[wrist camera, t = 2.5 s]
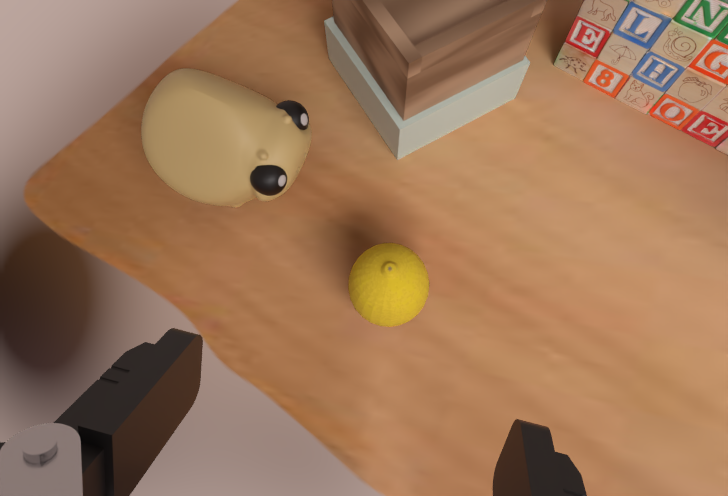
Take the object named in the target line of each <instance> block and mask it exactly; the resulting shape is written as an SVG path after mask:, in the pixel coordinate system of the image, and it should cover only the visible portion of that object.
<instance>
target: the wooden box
mask: <svg viewBox="0 0 728 496" xmlns="http://www.w3.org/2000/svg"><path fill="white" fill-rule="evenodd" d="M546 2H547V0H332V7H333V17H334V22H335V24H336V25H337V27H338V28H339V29H340V31H341V32H342V34H343V35H344V37H345V38H346V39H347V41H348V42H349V44H350V45H351V47H352V48H353V50H354V51H355V52H356V54H357V55H358V57H359V58H360V60H361V61H362V62H363V64H364V65H365V67H366V68H367V70H368V71H369V72H370V74H371V75H372V77H373V78H374V80H375V81H376V82H377V84H378V85H379V87H380V88H381V90H382V91H383V92H384V94H385V95H386V97H387V98H388V100H389V101H390V102H391V104H392V105H393V107H394V108H395V110H396V111H397V112H398V114H399V115H400V117H401V118H402V120H403V121H405V120H407V119H409V118H411V117H413V116H415V115H416V114H418V113H420V112H422V111H424V110H426V109H428V108H430V107H432V106H434V105H436V104H438V103H440V102H442V101H444V100H446V99H448V98H450V97H452V96H454V95H456V94H458V93H460V92H462V91H464V90H466V89H467V88H469V87H471V86H473V85H475V84H477V83H479V82H481V81H483V80H485V79H487V78H489V77H491V76H493V75H495V74H497V73H499V72H501V71H503V70H505V69H507V68H509V67H511V66H513V65H515V64H517V63H519V62H520V61H522V60H523V59H524V56H525V54H526V51H527V49H528V47H529V44H530V42H531V39H532V37H533V34H534V32H535V29H536V27H537V24H538V22H539V19H540V17H541V14H542V12H543V9H544V7H545V4H546Z"/></svg>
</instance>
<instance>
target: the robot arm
mask: <svg viewBox="0 0 728 496" xmlns="http://www.w3.org/2000/svg"><path fill="white" fill-rule="evenodd" d="M202 345H203V340H202V337H201V335H198V334H194V333H190V332H186V331H182V330H178V329H175V328H172V329H170V330H168V331H167V332H166V333H165V334H164V336H163V337H162V338H161V339H160V340H159V341H158V342H157V343H156V344H155V345H154V344H151V343H147V342H145V343H143V344H141V345H139V346H137V347H135V348H133V349H131V350H129V351H127V352H125V353H124V354H123V355H122V356H121V357H120V358H119V359H118V360H117V361H116V362H115V363H114V364H113V365H112V367H111V369H108V370H107V371H106V372H105V373H104V374H103V375H102V376H101V377H100V379H99V380H97V381H96V382H95V383H94V384H93V385H92V386H91V387H89V388H88V390H87V391H86V392H84V393H83V394H82V395H81V397H79V398H78V399H77V400H76V402H74V403H73V404H72V405H71V406H70V407H69V408H68V409H67V410H66V411H65V412H64V413H63V414H62V415H61V416H60V417H59V418H58V419H57V420H56V421H55V422H54V423H46V424H40V425H36V426H32V427H29V428H27V429H25V430H23V431H21V432H19V433H17V434H15V435H14V436H13V437H11V438H10V439H9V440H8V441H7V442H4V443H0V496H129V495H130V494H131V492H132V491H133V490H134V488H135V487H136V485H137V484H138V482H139V481H140V480H141V478H142V477H143V475H144V474H145V473H146V471H147V470H148V468H149V467H150V465H151V464H152V463H153V461H154V460H155V458H156V457H157V456H158V454H159V453H160V451H161V450H162V448H163V447H164V446H165V444H166V442H167V441H168V440H169V438H170V437H171V436H172V434H173V433H174V431H175V430H176V428H177V427H178V425H179V424H180V423H181V421H182V420H183V418H184V417H185V416H186V414H187V413H188V411H189V410H190V408H191V407H192V405H193V403H194V401H195V399H196V396H197V394H198V391H199V387H200V378H201V361H202ZM493 496H587V495H586V491H585V487H584V484H583V480H582V476H581V474H580V473H579V471H578V470H577V468H576V467H575V465H574V464H573V462H572V461H571V459H570V458H569V457H568V455H565V454H562V453H558V452H555V450H554V446H553V441H552V437H551V433H550V430H549V428H548V427H546V426H542V425H538V424H534V423H530V422H526V421H523V420H519V419H516V420H515V421H514V423H513V425H512V427H511V430H510V432H509V434H508V437H507V439H506V442H505V444H504V447H503V449H502V452H501V454H500V457H499V459H498V462H497V464H496V468H495V472H494V478H493Z"/></svg>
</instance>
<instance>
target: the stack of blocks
mask: <svg viewBox="0 0 728 496" xmlns="http://www.w3.org/2000/svg"><path fill="white" fill-rule="evenodd" d="M554 66H555V67H557V68H559V69H561V70H563V71H565V72H567V73H569V74H571V75H573V76H575V77H576V78H578V79H580V80H582V81H583V82H584V83H586V84H588V85H590V86H592V87H594V88H596V89H598V90H600V91H602V92H604V93H606V94H607V95H609V96H611V97H614V98H616V99H617V100H619V101H621V102H623V103H624V104H626V105H628V106H630V107H632V108H634V109H636V110H638V111H640V112H642V113H644V114H649V115H651V116H652V117H654V118H657V119H658V120H661V121H662V122H664V123H666V124H668V125H670V126H672V127H674V128H676V129H678V130H682V131H683V132H685V133H687V134H689V135H691V136H693V137H695V138H697V139H698V140H701V141H703V142H704V143H706V144H708V145H710V146H713V147H715V148H716V149H717V150H718V151H720V152H722V153H724V154H726V155H728V0H584V1H583V3H582V5H581V7H580V9H579V11H578V14H577V16H576V18H575V21H574V23H573V25H572V27H571V29H570V31H569V33H568V36H567V38H566V40H565V42H564V44H563V46H562V48H561V50H560V52H559V54H558V56H557V58H556V60H555V62H554Z"/></svg>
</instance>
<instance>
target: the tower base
mask: <svg viewBox="0 0 728 496" xmlns="http://www.w3.org/2000/svg"><path fill="white" fill-rule="evenodd" d="M324 24H325V32H326V40H327V48H328V56H329V60H330V61H331V63H332V64H333V66H334V67H335V69H336V70H337V72H338V73H339V74H340V76H341V77H342V79H343V80H344V82H345V83H346V85H347V86H348V88H349V89H350V91H351V92H352V94H353V95H354V97H355V98H356V100H357V101H358V103H359V104H360V106H361V107H362V109H363V110H364V111H365V113H366V114H367V116H368V117H369V119H370V120H371V122H372V123H373V125H374V126H375V128H376V129H377V131H378V132H379V134H380V135H381V137H382V138H383V140H384V141H385V143H386V144H387V146H388V147H389V148H390V150H391V151H392V153H393V154H394V156H395V157H396V159H397V160H398V159H400V158H402V157H404V156H406V155H408V154H410V153H412V152H414V151H415V150H417V149H419V148H421V147H423V146H425V145H427V144H429V143H431V142H433V141H435V140H436V139H438V138H440V137H442V136H444V135H446V134H448V133H450V132H452V131H454V130H456V129H457V128H459V127H461V126H463V125H465V124H467V123H469V122H471V121H473V120H475V119H477V118H478V117H480V116H482V115H484V114H486V113H488V112H490V111H492V110H494V109H496V108H498V107H499V106H501V105H503V104H505V103H507V102H509V101H511V100H513V99H515V97H516V95H517V93H518V90H519V88H520V86H521V83H522V81H523V79H524V76H525V74H526V71H527V69H528V67H529V64H530V61H529V60H528V59H527V58H526V56H524V59H523V60H522V61H520V62H519V63H517V64H515V65H513V66H511V67H509V68H507V69H505V70H503V71H501V72H499V73H497V74H495V75H493V76H491V77H489V78H487V79H485V80H483V81H481V82H479V83H477V84H475V85H473V86H471V87H469V88H467V89H466V90H464V91H462V92H460V93H458V94H456V95H454V96H452V97H450V98H448V99H446V100H444V101H442V102H440V103H438V104H436V105H434V106H432V107H430V108H428V109H426V110H424V111H422V112H420V113H418V114H416V115H415V116H413V117H411V118H409V119H407V120H405V121H403V120H402V118H401V117H400V115H399V114H398V112H397V111H396V110H395V108H394V107H393V105H392V104H391V102H390V101H389V100H388V98H387V97H386V95H385V94H384V92H383V91H382V90H381V88H380V87H379V85H378V84H377V82H376V81H375V80H374V78H373V77H372V75H371V74H370V72H369V71H368V70H367V68H366V67H365V65H364V64H363V62H362V61H361V60H360V58H359V57H358V55H357V54H356V52H355V51H354V50H353V48H352V47H351V45H350V44H349V42H348V41H347V39H346V38H345V37H344V35H343V34H342V32H341V31H340V29H339V28H338V27H337V25H336V24H335V22H334V17H331V18H329V19H326V20H324Z"/></svg>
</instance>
